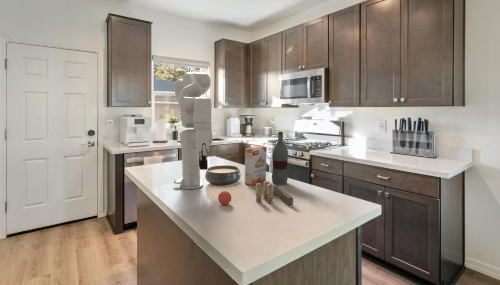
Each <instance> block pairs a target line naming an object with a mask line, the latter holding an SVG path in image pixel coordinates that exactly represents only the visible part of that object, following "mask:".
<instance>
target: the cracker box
mask: <svg viewBox="0 0 500 285" xmlns="http://www.w3.org/2000/svg"><path fill="white" fill-rule="evenodd" d="M267 151H268V148H267V146H263V145H258V146H257V145H256V146H251V147H247V148H246V147H245V150H244V156H245V157H244V184H245V185H249V186H254V185H255V186H256V184H257V183H262V182H263V183H264V181H266V180H267V179H266V178H267V153H268V152H267Z"/></svg>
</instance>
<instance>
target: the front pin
mask: <svg viewBox="0 0 500 285" xmlns="http://www.w3.org/2000/svg"><path fill="white" fill-rule="evenodd" d="M255 190H256V192H255V202H256V203H261V202H262V182H260V183H257V184H255Z"/></svg>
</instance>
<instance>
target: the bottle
mask: <svg viewBox="0 0 500 285" xmlns="http://www.w3.org/2000/svg"><path fill="white" fill-rule="evenodd" d="M277 133H278V134H277V136H278V137H277V138H278V139H277V142H276V144H275V145H274V147H273V149H272V152H271V153H272V154H271V157H272V158H271V159H272V160H271V161H272V171H271V182H272V185H274V186H285V185H287V183H288V178H289V177H288V176H289V175H288V160H289V149H288V148H287V146H286V144H285V143H284V132H283V131H278V132H277Z"/></svg>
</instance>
